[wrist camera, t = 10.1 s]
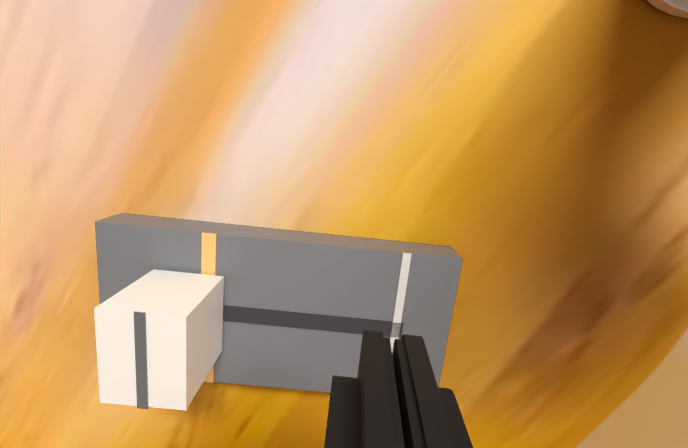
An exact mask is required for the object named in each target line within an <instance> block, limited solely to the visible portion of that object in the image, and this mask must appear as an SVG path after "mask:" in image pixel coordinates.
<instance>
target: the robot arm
mask: <svg viewBox="0 0 688 448" xmlns="http://www.w3.org/2000/svg"><path fill="white" fill-rule="evenodd" d="M647 1H648V2H649V3H650V4H651V5H653V6H654V7H655V8H657V9H659V10H662V11H664V12H666V13H668V14H670V15H674V16H679V17H683V18H688V0H647ZM324 448H473V446H472V444H471V441H470V438H469V435H468V432H467V429H466V427H465V424H464V421H463V418H462V415H461V412H460V409H459V407H458V404H457V401H456V398H455V395H454V393H453V391H452V390H451V389H448V388H440V387H438V386H437V383H436V379H435V376H434V373H433V369H432V366H431V363H430V359H429V356H428V352H427V349H426V346H425V342H424V339H423V337H422V336H415V335H406V334H403V335H402V337H401V339H395V340H394V345H393V352H392V350H391V343H390V338H386V337H383V332H379V331H370V330H363V336H362V344H361V352H360V360H359V367H358V375H357V378H353V377H344V376H335V375H333V377H332V385H331V394H330V402H329V411H328V420H327V428H326V437H325V445H324Z"/></svg>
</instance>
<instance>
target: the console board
mask: <svg viewBox="0 0 688 448" xmlns="http://www.w3.org/2000/svg"><path fill="white" fill-rule="evenodd" d="M95 231H96V248H97V264H98V281H99V297H100V304H101V303H103V302H104V301H106V300H107V299H109V298H110V297H112V296H114V295H115V294H117V293H118V292H120V291H121V290H123V289H124V288H126V287H127V286H129V285H130V284H132V283H134V282H135V281H137V280H138V279H140V278H141V277H143V276H144V275H146V274H147V273H149V272H150V271H152V270H153V269H155V270H165V271H175V272H186V273H196V274H206V275H216V276H224V293H223V331H222V352H221V353H220V355H219V357H218V358H217V360H216V362H215V363H214V365H213V367H212V368H211V370H210V372H209V373H208V375H207V377H206V378H205V380H204V382H209V383H213V382H221V383H232V384H242V385H253V386H263V387H274V388H285V389H295V390H306V391H317V392H327V393H331V385H332V377H333V375H335V376H344V377H353V378H357V375H358V367H359V360H360V352H361V344H362V336H363V330H370V331H379V332H383V337H386V338H390V343H391V350H392V352H393V345H394V340H395V339H401V337H402V335H403V334H406V335H415V336H422V337H423V339H424V342H425V346H426V349H427V352H428V356H429V359H430V363H431V366H432V369H433V373H434V376H435V379H436V383H437V386H438V387H439V382H440V376H441V371H442V366H443V361H444V355H445V350H446V345H447V340H448V334H449V329H450V324H451V319H452V313H453V308H454V303H455V297H456V292H457V287H458V282H459V276H460V271H461V266H462V261H463V258H462V257H461V256H460V255H459V254H458V253H457V252H456V251H455V250H454V249H453V248H451V247H450V246H440V245H430V244H420V243H411V242H401V241H391V240H381V239H371V238H361V237H352V236H342V235H332V234H322V233H312V232H302V231H293V230H283V229H273V228H263V227H253V226H243V225H234V224H224V223H214V222H204V221H194V220H184V219H175V218H165V217H155V216H145V215H135V214H125V213H121V214H118V215H114V216H111V217H108V218H105V219H101V220H98V221H95Z"/></svg>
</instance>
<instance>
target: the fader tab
mask: <svg viewBox="0 0 688 448" xmlns="http://www.w3.org/2000/svg"><path fill="white" fill-rule="evenodd" d="M223 293H224V276H216V275H206V274H196V273H186V272H175V271H165V270H155V269H153V270H152V271H150V272H149V273H147V274H146V275H144V276H143V277H141V278H140V279H138V280H137V281H135V282H134V283H132V284H130V285H129V286H127V287H126V288H124V289H123V290H121V291H120V292H118V293H117V294H115V295H114V296H112V297H110V298H109V299H107V300H106V301H104V302H103V303H101V304H100V305H98V306H97V307H95V308H94V316H95V332H96V347H97V362H98V378H99V393H100V403H111V404H122V405H133V406H137V408H143V409H148V407H154V408H165V409H176V410H187V408H188V406H189V405H190V403H191V401H192V400H193V398H194V397H195V395H196V393H197V392H198V390H199V388H200V387H201V385H202V383H203V382H204V380H205V378H206V377H207V375H208V373H209V372H210V370H211V368H212V367H213V365H214V363H215V362H216V360H217V358H218V357H219V355H220V353H221V352H222V331H223Z"/></svg>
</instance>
